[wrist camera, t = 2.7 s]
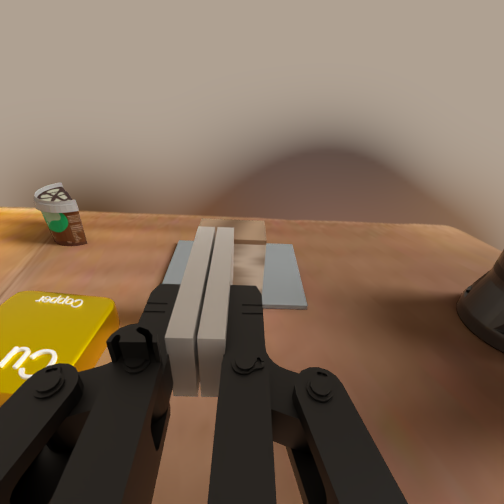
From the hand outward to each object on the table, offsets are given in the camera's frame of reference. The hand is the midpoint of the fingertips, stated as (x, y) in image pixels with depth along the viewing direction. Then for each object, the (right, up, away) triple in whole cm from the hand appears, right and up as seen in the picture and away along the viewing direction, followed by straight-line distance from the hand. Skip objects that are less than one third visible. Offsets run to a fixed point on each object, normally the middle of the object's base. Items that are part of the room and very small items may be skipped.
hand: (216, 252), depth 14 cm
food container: (-38, +3, +48) cm, 61 cm away
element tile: (-25, -14, +24) cm, 38 cm away
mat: (-2, -4, +41) cm, 41 cm away
